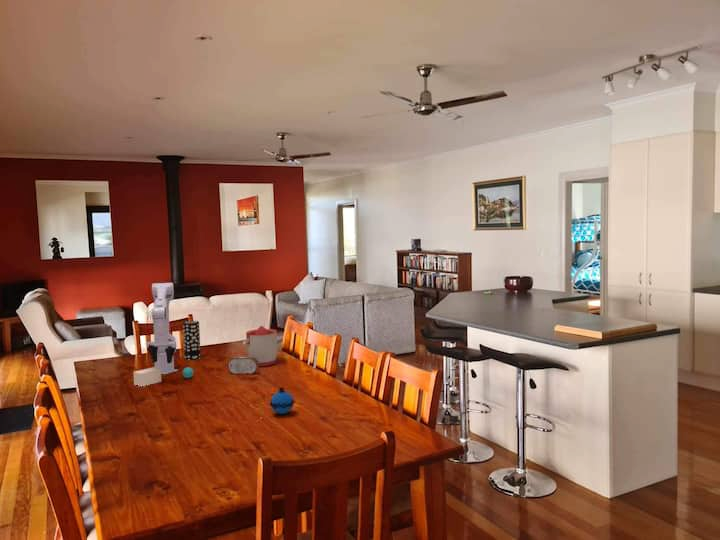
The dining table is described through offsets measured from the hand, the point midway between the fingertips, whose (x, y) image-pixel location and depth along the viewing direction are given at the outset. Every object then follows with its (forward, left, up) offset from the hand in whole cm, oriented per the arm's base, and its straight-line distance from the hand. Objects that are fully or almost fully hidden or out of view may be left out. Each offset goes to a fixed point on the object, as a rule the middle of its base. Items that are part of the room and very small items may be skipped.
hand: (162, 362), depth 242 cm
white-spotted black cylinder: (-27, +36, -10) cm, 46 cm away
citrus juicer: (+15, +47, -10) cm, 50 cm away
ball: (+4, +11, -7) cm, 13 cm away
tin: (+21, +30, -10) cm, 38 cm away
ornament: (+77, 0, -10) cm, 77 cm away
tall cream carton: (-5, -5, -9) cm, 12 cm away
